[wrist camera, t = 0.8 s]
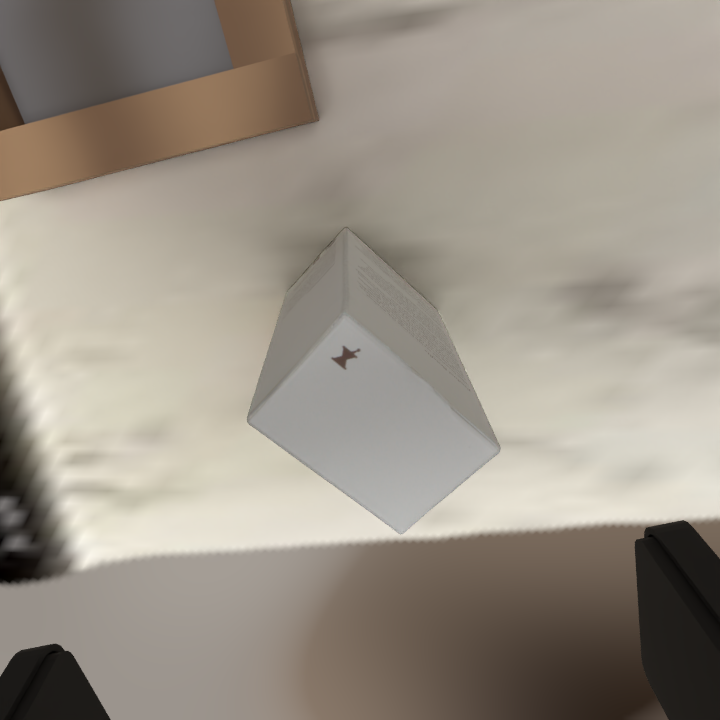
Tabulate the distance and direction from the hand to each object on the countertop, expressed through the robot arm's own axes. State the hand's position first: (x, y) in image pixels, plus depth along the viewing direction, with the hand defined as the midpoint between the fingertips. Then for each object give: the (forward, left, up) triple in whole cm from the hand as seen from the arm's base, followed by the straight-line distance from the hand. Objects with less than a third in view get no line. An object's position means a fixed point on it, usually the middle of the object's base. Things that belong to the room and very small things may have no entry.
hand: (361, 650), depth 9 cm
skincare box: (-1, 0, -19) cm, 19 cm away
